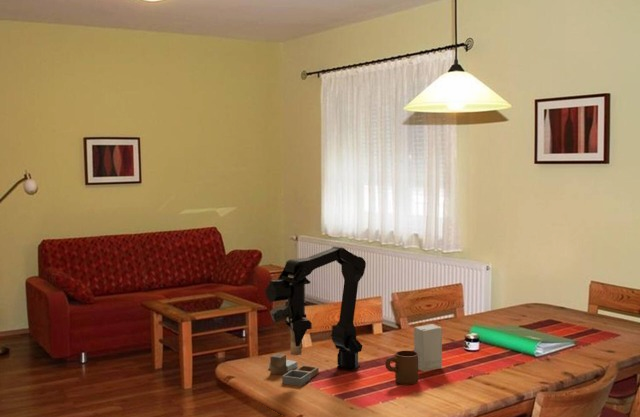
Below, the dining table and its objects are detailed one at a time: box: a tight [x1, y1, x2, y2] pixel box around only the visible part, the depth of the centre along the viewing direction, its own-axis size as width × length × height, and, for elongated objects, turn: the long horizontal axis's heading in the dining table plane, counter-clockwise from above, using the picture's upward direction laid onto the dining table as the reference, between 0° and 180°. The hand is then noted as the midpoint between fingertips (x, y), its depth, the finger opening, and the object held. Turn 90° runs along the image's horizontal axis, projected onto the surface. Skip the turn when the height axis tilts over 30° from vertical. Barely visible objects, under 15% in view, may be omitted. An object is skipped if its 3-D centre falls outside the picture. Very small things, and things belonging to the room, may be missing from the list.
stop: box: [269, 352, 287, 376], centre depth 237 cm, size 4×4×6 cm
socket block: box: [295, 365, 320, 379], centre depth 235 cm, size 6×6×2 cm
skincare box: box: [413, 323, 443, 372], centre depth 241 cm, size 8×6×15 cm
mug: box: [384, 350, 419, 386], centre depth 226 cm, size 12×8×9 cm, turn 116°
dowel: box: [290, 330, 303, 356], centre depth 228 cm, size 4×4×9 cm
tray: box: [281, 369, 312, 387], centre depth 228 cm, size 7×7×2 cm
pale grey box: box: [268, 359, 299, 373], centre depth 243 cm, size 8×6×2 cm
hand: (296, 344), depth 228 cm, fingers closed on dowel, 4 cm apart
